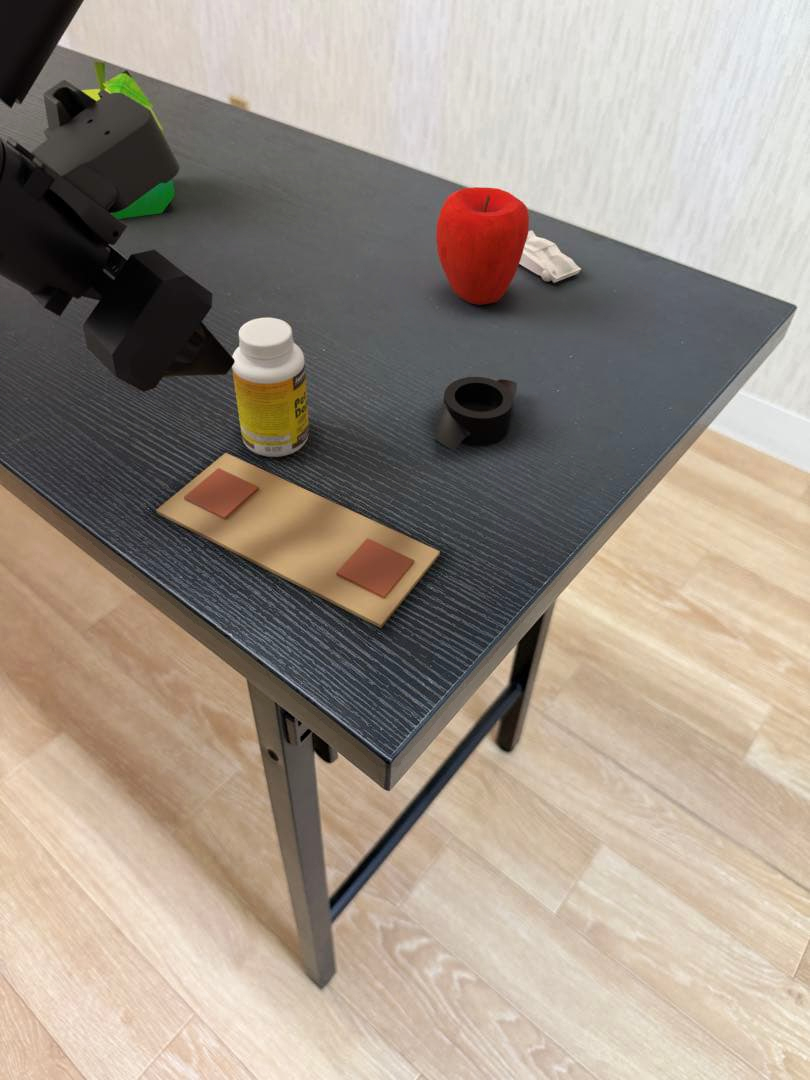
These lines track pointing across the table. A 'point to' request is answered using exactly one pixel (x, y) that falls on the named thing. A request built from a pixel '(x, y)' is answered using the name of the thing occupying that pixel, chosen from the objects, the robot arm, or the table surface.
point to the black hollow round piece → (475, 412)
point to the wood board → (302, 537)
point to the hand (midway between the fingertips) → (192, 334)
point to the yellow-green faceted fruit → (125, 84)
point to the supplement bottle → (270, 388)
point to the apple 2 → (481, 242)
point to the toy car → (547, 259)
